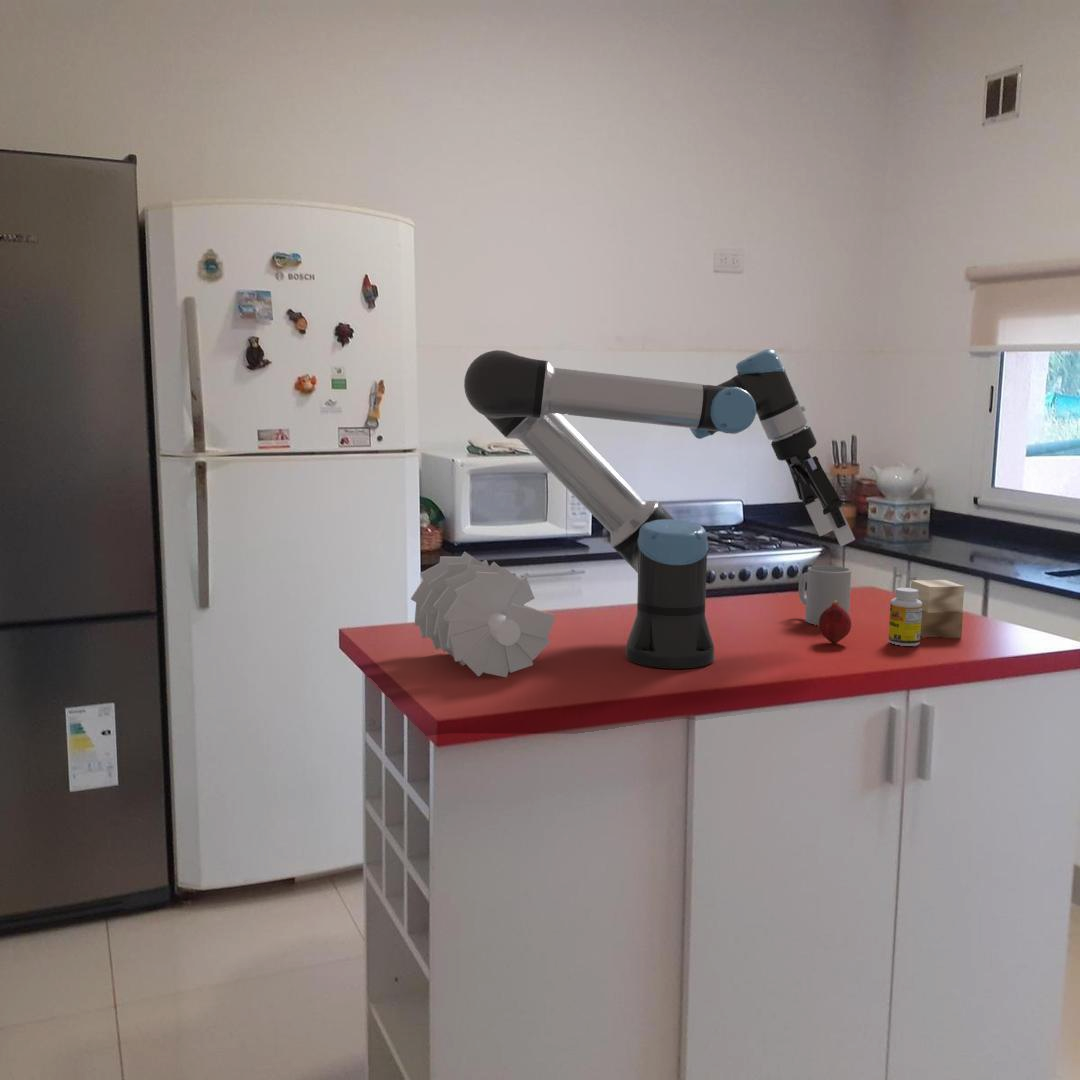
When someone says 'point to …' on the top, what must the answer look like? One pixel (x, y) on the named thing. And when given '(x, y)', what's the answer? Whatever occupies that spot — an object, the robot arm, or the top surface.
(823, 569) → the mug
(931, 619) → the bottom block
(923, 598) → the top block
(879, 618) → the top surface
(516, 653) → the spiral staircase
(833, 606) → the onion
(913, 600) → the supplement bottle
